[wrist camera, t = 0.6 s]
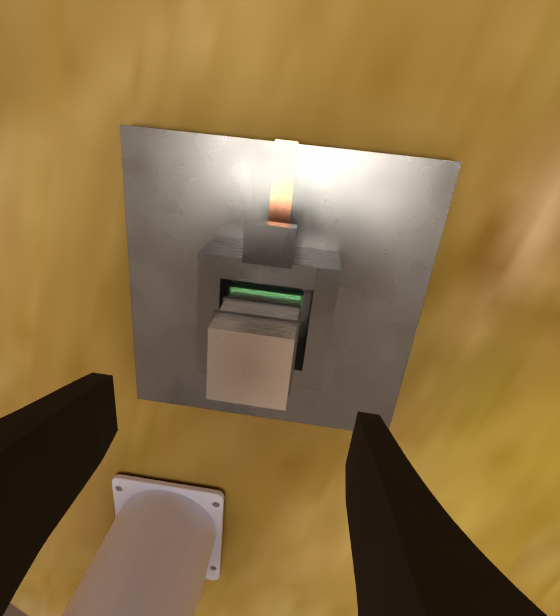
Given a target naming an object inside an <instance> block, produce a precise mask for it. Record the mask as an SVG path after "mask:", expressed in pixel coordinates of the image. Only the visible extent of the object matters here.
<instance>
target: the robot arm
mask: <svg viewBox="0 0 560 616" xmlns="http://www.w3.org/2000/svg"><path fill="white" fill-rule="evenodd" d="M117 431H118V428H117V417H116V406H115V396H114V385H113V376H112V375H106V374H99V373H91V374H89V375H86V376H84V377H82V378H80V379H78V380H76V381H74V382H72V383H70V384H68V385H66V386H64V387H62V388H60V389H58V390H56V391H54V392H52V393H50V394H49V395H47V396H45V397H43V398H41V399H39V400H37V401H35V402H33V403H31V404H29V405H27V406H25V407H23V408H21V409H19V410H17V411H15V412H13V413H11V414H8V415H6V416H4V417H2V418H0V616H3V614H4V612H5V610H6V609H7V607H8V605H9V603H10V601H11V600H12V598H13V596H14V594H15V592H16V591H17V589H18V587H19V585H20V584H21V582H22V580H23V578H24V577H25V575H26V573H27V572H28V570H29V568H30V566H31V565H32V563H33V561H34V559H35V558H36V556H37V554H38V553H39V551H40V549H41V548H42V546H43V545H44V543H45V542H46V540H47V539H48V537H49V536H50V534H51V533H52V531H53V530H54V528H55V527H56V526H57V524H58V523H59V521H60V520H61V519H62V517H63V516H64V514H65V513H66V511H67V510H68V509H69V507H70V506H71V504H72V503H73V502H74V500H75V499H76V497H77V496H78V494H79V493H80V492H81V490H82V489H83V487H84V486H85V484H86V483H87V482H88V480H89V479H90V477H91V476H92V474H93V473H94V471H95V470H96V469H97V467H98V466H99V464H100V463H101V461H102V459H103V457H104V456H105V454H106V452H107V450H108V448H109V446H110V444H111V442H112V440H113V438H114V436H115V435H116V433H117ZM112 488H113V497H114V506H115V515H116V518H115V520H114V522H113V524H112V526H111V527H110V529H109V531H108V533H107V535H106V536H105V538H104V540H103V542H102V544H101V546H100V547H99V549H98V551H97V553H96V555H95V556H94V558H93V560H92V562H91V564H90V565H89V567H88V569H87V571H86V573H85V574H84V576H83V578H82V580H81V582H80V583H79V585H78V587H77V589H76V591H75V592H74V594H73V596H72V598H71V600H70V602H69V603H68V605H67V607H66V609H65V611H64V612H63V614H62V616H196V613H197V609H198V605H199V602H200V598H201V594H202V590H203V587H204V583H205V579H210V580H217V579H218V578H219V576H220V567H221V549H222V532H223V514H224V494H223V492H221V491H219V490H214V489H208V488H202V487H196V486H189V485H183V484H177V483H171V482H165V481H158V480H152V479H146V478H140V477H134V476H128V475H121V474H117V475H115V476H114V478H113V479H112ZM346 507H347V516H348V524H349V533H350V541H351V549H352V557H353V565H354V574H355V582H356V591H357V603H358V616H547V615H546V614H545V613H544V612H542V611H541V610H540V609H539V608H538V607H537V606H536V605H535V604H534V603H533V602H532V601H530V600H529V599H528V598H527V597H526V596H525V595H524V594H523V593H522V592H521V591H520V590H519V589H518V588H517V587H516V586H515V585H514V584H513V583H512V582H511V581H510V580H509V579H508V578H507V577H506V576H505V575H504V574H503V573H502V572H501V571H500V570H499V569H498V568H497V567H496V566H495V565H494V564H493V563H492V562H491V561H490V560H489V559H488V558H487V557H486V556H485V555H484V554H483V553H482V552H481V551H480V550H479V549H478V548H477V547H476V546H475V545H474V543H473V542H472V541H471V540H470V539H469V538H468V537H467V535H466V534H465V533H464V532H463V531H462V530H461V529H460V528H459V526H458V525H457V524H456V523H455V522H454V521H453V520H452V518H451V517H450V516H449V515H448V513H447V512H446V511H445V510H444V508H443V507H442V506H441V505H440V503H439V502H438V501H437V499H436V498H435V497H434V495H433V494H432V493H431V492H430V490H429V489H428V487H427V486H426V485H425V483H424V482H423V481H422V479H421V478H420V476H419V475H418V473H417V472H416V471H415V469H414V468H413V466H412V465H411V463H410V462H409V460H408V459H407V457H406V456H405V454H404V453H403V451H402V450H401V448H400V447H399V445H398V443H397V442H396V440H395V439H394V437H393V435H392V434H391V432H390V430H389V429H388V427H387V426H386V424H385V422H384V421H383V419H382V417H381V416H380V415H379V414H372V413H365V412H357V417H356V421H355V426H354V430H353V434H352V439H351V443H350V448H349V452H348V457H347V461H346Z"/></svg>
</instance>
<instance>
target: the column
mask: <svg viewBox="0 0 560 616" xmlns="http://www.w3.org/2000/svg"><path fill="white" fill-rule="evenodd" d="M303 296H304V291H302V289H299V288H291V287H283V286H276V285H268V284H260V283H253V282H245V281H237V282H233V283H232V284H231V286H230V293H229V295H228V296H224V297H223V301H222V306H221V308H220V309H219V310H216V309H215V310H214V312H213V321H212V322H211V324H210V325H209V327H208V347H207V386H206V399H210V400H217V401H223V402H230V403H237V404H243V405H250V406H257V407H264V408H270V409H277V410H284V411H286V404H287V397H288V395H289V396H290V394H291V386H292V379H293V371H294V364H295V356H296V349H297V341H298V334H299V326H300V318H301V311H302V303H303Z"/></svg>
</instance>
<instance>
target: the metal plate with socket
mask: <svg viewBox="0 0 560 616" xmlns="http://www.w3.org/2000/svg"><path fill="white" fill-rule="evenodd" d="M120 132H121V148H122V163H123V179H124V194H125V210H126V226H127V241H128V257H129V273H130V288H131V304H132V320H133V335H134V351H135V367H136V382H137V398H138V399H145V400H151V401H158V402H165V403H171V404H178V405H185V406H191V407H198V408H205V409H211V410H218V411H225V412H231V413H238V414H245V415H251V416H258V417H265V418H271V419H278V420H285V421H291V422H298V423H305V424H311V425H318V426H325V427H332V428H338V429H345V430H352V431H353V430H354V426H355V421H356V417H357V412H365V413H372V414H379V415H380V416H381V417H382V419H383V421H384V422H385V424H386V426H387V427H388V429H389V427H390V423H391V419H392V416H393V412H394V408H395V405H396V401H397V397H398V394H399V390H400V386H401V383H402V379H403V375H404V372H405V368H406V364H407V361H408V357H409V353H410V350H411V346H412V342H413V339H414V335H415V332H416V328H417V324H418V321H419V317H420V313H421V310H422V306H423V302H424V299H425V295H426V291H427V288H428V284H429V280H430V277H431V273H432V269H433V266H434V262H435V258H436V255H437V251H438V248H439V244H440V240H441V237H442V233H443V229H444V226H445V222H446V218H447V215H448V211H449V207H450V204H451V200H452V196H453V193H454V189H455V185H456V182H457V178H458V174H459V171H460V167H461V163H462V162H458V161H450V160H441V159H432V158H423V157H414V156H404V155H395V154H386V153H377V152H368V151H359V150H349V149H340V148H331V147H322V146H313V145H304V144H298V142H297V141H288V140H279V139H275V141H267V140H258V139H249V138H239V137H230V136H221V135H212V134H203V133H194V132H184V131H175V130H166V129H157V128H148V127H139V126H129V125H120ZM237 281H245V282H253V283H260V284H268V285H276V286H283V287H291V288H299V289H302V291H304V296H303V303H302V311H301V318H300V326H299V334H298V341H297V349H296V356H295V364H294V371H293V379H292V386H291V394H290V396H289V395H288V397H287V404H286V411H284V410H277V409H270V408H264V407H257V406H250V405H243V404H237V403H230V402H223V401H217V400H210V399H206V386H207V347H208V327H209V325H210V324H211V322H212V321H213V312H214V310H215V309H216V310H219V309H220V308H221V306H222V301H223V297H224V296H228V295H229V293H230V286H231V284H232V283H233V282H237Z"/></svg>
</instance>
